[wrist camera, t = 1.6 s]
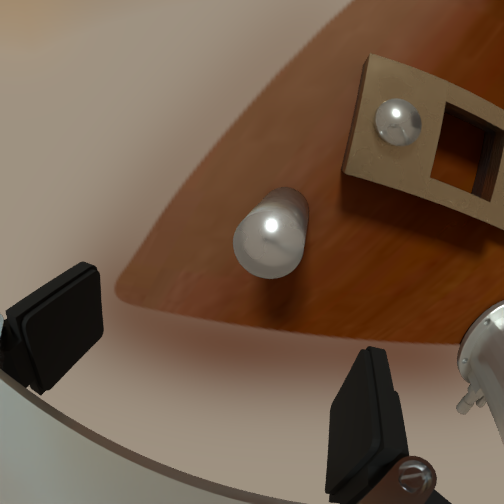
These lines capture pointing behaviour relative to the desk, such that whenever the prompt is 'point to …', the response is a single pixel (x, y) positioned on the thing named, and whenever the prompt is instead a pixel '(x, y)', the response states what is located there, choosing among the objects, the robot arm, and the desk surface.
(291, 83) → the desk surface
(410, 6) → the desk surface
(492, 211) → the square hole plate
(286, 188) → the steel pin
